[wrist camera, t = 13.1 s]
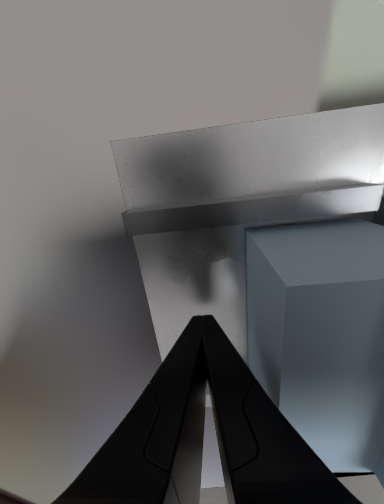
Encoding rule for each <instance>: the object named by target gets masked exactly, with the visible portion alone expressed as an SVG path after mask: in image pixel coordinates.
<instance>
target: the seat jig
mask: <svg viewBox="0 0 384 504" xmlns="http://www.w3.org/2000/svg"><path fill="white" fill-rule="evenodd" d="M110 142H111V146H112V151H113V155H114V159H115V163H116V168H117V172H118V176H119V180H120V184H121V189H122V193H123V197H124V201H125V206H126V210H127V211H125V212H124V213H122V218H123V222H124V226H125V230H126V234H127V236H133V240H134V244H135V249H136V253H137V257H138V261H139V266H140V269H141V274H142V278H143V283H144V287H145V291H146V295H147V299H148V304H149V308H150V312H151V316H152V321H153V325H154V329H155V334H156V338H157V342H158V346H159V351H160V355H161V359H162V362H163V361H164V359H165V358H166V356H167V355H168V353H169V352H170V350H171V349H172V347H173V345H174V344H175V342H176V341H177V339H178V338H179V336H180V335H181V333H182V332H183V330H184V329H185V327H186V326H187V324H188V323H189V321H190V320H191V318H192V317H193V316H196V315H202V316H203V315H213V316H214V318H215V319H216V321H217V322H218V324H219V325H220V327H221V328H222V329H223V331H224V332H225V334H226V335H227V337H228V338H229V340H230V341H231V343H232V344H233V345H234V347H235V348H236V350H237V351H238V353H239V354H240V356H241V357H242V359H243V360H244V362H245V363H246V364H247V366H248V367H249V359H248V309H247V259H246V230H247V229H257V228H267V227H277V226H287V225H297V224H307V223H317V222H327V221H337V220H346V219H356V218H359V219H362V220H365V221H369V222H372V223H375V224H378V225H381V226H384V103H379V104H372V105H365V106H358V107H351V108H344V109H337V110H329V111H322V112H315V113H308V114H302V115H294V116H287V117H280V118H273V119H266V120H259V121H251V122H244V123H238V124H230V125H224V126H216V127H209V128H202V129H195V130H188V131H180V132H174V133H167V134H159V135H152V136H145V137H138V138H131V139H124V140H116V141H110ZM249 369H250V368H249ZM205 407H212V405H211V399H210V393H209V387H208V381H207V389H206V405H205Z"/></svg>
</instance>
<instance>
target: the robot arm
mask: <svg viewBox="0 0 384 504" xmlns="http://www.w3.org/2000/svg"><path fill="white" fill-rule="evenodd" d="M207 381H208V387H209V393H210V399H211V405H212V410H213V417H214V423H215V429H216V435H217V441H218V447H219V453H220V458H221V464H222V470H223V476H224V482H225V488H226V494H227V500H228V504H363V503H362V502H361V501H359V500H358V499H357V498H356V497H355V496H354V495H353V494H352V493H351V492H350V491H349V490H348V489H347V488H346V487H345V486H344V485H343V484H342V483H341V482H340V481H339V480H338V478H337V477H336V476H335V475H334V474H333V473H332V472H331V470H330V469H329V468H328V467H327V466H326V465H325V463H324V462H323V461H322V460H321V459H320V458H319V456H318V455H317V454H316V453H315V452H314V451H313V449H312V448H311V447H310V446H309V445H308V444H307V442H306V441H305V440H304V439H303V438H302V437H301V435H300V434H299V433H298V432H297V431H296V430H295V428H294V427H293V426H292V425H291V424H290V423H289V421H288V420H287V419H286V418H285V416H284V415H283V414H282V413H281V412H280V410H279V409H278V408H277V407H276V405H275V404H274V403H273V401H272V400H271V399H270V397H269V396H268V395H267V393H266V392H265V390H264V389H263V388H262V386H261V385H260V383H259V382H258V380H257V379H256V378H255V376H254V375H253V373H252V372H251V370H250V369H249V367H248V366H247V364H246V363H245V362H244V360H243V359H242V357H241V356H240V354H239V353H238V351H237V350H236V348H235V347H234V345H233V344H232V343H231V341H230V340H229V338H228V337H227V335H226V334H225V332H224V331H223V329H222V328H221V327H220V325H219V324H218V322H217V321H216V319H215V318H214V316H213V315H203V316H202V315H196V316H193V317H192V318H191V320H190V321H189V323H188V324H187V326H186V327H185V329H184V330H183V332H182V333H181V335H180V336H179V338H178V339H177V341H176V342H175V344H174V345H173V347H172V349H171V350H170V352H169V353H168V355H167V356H166V358H165V359H164V361H163V362H162V364H161V365H160V367H159V368H158V370H157V371H156V373H155V374H154V376H153V377H152V379H151V381H150V384H148V385H147V386H146V388H145V390H144V391H143V393H142V394H141V396H140V397H139V398H138V400H137V401H136V403H135V404H134V406H133V407H132V409H131V410H130V411H129V413H128V414H127V415H126V417H125V418H124V419H123V420H122V422H121V423H120V424H119V426H118V427H117V428H116V429H115V431H114V432H113V433H112V434H111V436H110V437H109V438H108V439H107V441H106V442H105V443H104V444H103V446H102V447H101V448H100V449H99V451H98V452H97V453H96V454H95V456H94V457H93V458H92V459H91V461H90V462H89V463H88V464H87V466H86V467H85V468H84V469H83V471H82V472H81V473H80V474H79V476H78V477H77V478H76V479H75V480H74V482H72V484H71V485H70V486H69V487H68V488H67V489H66V490H65V491H64V492H63V493H62V494H61V495H60V496H59V497H58V498H57V499H56V500H54V501H53V502H52V503H51V504H199V501H200V485H201V469H202V453H203V452H202V451H203V436H204V421H205V420H204V419H205V405H206V389H207Z"/></svg>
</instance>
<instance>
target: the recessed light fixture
mask: <svg viewBox="0 0 384 504" xmlns="http://www.w3.org/2000/svg"><path fill="white" fill-rule="evenodd" d="M338 480H339V481H340V482H341V483H342V484H343V485H344V486H345V487H346V488H347V489H348V490H349V491H350V492H351V493H352V494H353V495H354V496H355V497H356V498H357V499H358V500H359V501H361V502H362V503H363V504H384V489H383V487H382V485H381V484H380V482H379V480H378V478H377V477H376V475H375V474H374V475H362V476H350V477H338ZM199 504H228V500H227V494H226V488H225V487H216V488H203V489H200V501H199Z"/></svg>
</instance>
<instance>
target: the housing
mask: <svg viewBox="0 0 384 504" xmlns="http://www.w3.org/2000/svg"><path fill="white" fill-rule="evenodd" d="M246 259H247V309H248V359H249V368H250V370H251V372H252V373H253V375H254V376H255V378H256V379H257V380H258V382H259V383H260V385H261V386H262V388H263V389H264V390H265V392H266V393H267V395H268V396H269V397H270V399H271V400H272V401H273V403H274V404H275V405H276V407H277V408H278V409H279V410H280V412H281V413H282V414H283V415H284V416H285V418H286V419H287V420H288V421H289V423H290V424H291V425H292V426H293V427H294V428H295V430H296V431H297V432H298V433H299V434H300V435H301V437H302V438H303V439H304V440H305V441H306V442H307V444H308V445H309V446H310V447H311V448H312V449H313V451H314V452H315V453H316V454H317V455H318V456H319V458H320V459H321V460H322V461H323V462H324V463H325V465H326V466H327V467H328V468H329V469H330V470H331V472H374V473H375V475H376V477H377V478H378V480H379V482H380V484H381V485H382V487H383V489H384V226H381V225H378V224H375V223H372V222H369V221H365V220H362V219H359V218H356V219H346V220H337V221H327V222H317V223H307V224H297V225H287V226H277V227H267V228H257V229H247V230H246Z"/></svg>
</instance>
